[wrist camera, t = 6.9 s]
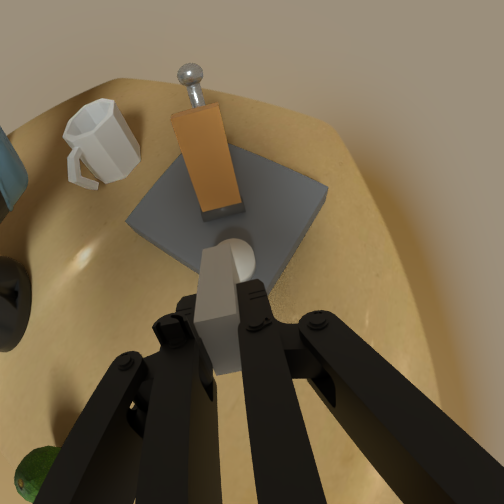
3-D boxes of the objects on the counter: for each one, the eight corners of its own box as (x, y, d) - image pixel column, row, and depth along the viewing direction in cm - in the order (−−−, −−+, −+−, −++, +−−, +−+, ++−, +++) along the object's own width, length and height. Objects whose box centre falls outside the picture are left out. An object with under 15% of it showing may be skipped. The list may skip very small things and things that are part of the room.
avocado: (116, 481, 23) (55, 512, 11) (86, 501, 21) (30, 527, 10) (76, 430, 25) (7, 441, 14) (50, 454, 24) (-12, 466, 12)
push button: (219, 290, 27) (214, 284, 26) (212, 251, 29) (207, 244, 27) (260, 280, 27) (258, 274, 26) (251, 242, 29) (249, 233, 27)
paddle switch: (204, 225, 30) (168, 121, 21) (203, 214, 31) (169, 114, 22) (246, 215, 30) (221, 106, 21) (244, 204, 31) (219, 100, 22)
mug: (108, 142, 41) (82, 101, 32) (150, 140, 40) (126, 94, 31) (77, 203, 37) (39, 167, 28) (119, 208, 36) (82, 165, 27)
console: (135, 232, 34) (124, 221, 31) (205, 147, 38) (200, 132, 35) (258, 311, 29) (255, 305, 27) (325, 201, 33) (328, 187, 31)
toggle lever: (199, 168, 32) (168, 72, 23) (198, 156, 34) (170, 66, 24) (229, 160, 32) (205, 61, 23) (226, 149, 34) (204, 56, 24)
